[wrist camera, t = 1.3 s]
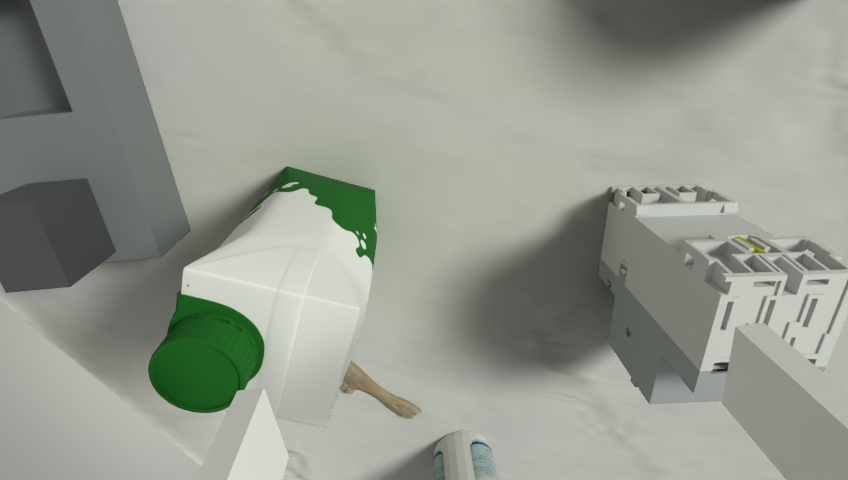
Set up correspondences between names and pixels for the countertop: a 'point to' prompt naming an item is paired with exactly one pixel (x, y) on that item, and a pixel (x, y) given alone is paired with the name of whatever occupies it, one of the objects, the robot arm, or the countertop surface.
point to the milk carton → (275, 303)
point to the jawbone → (376, 391)
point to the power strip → (77, 147)
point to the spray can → (464, 457)
